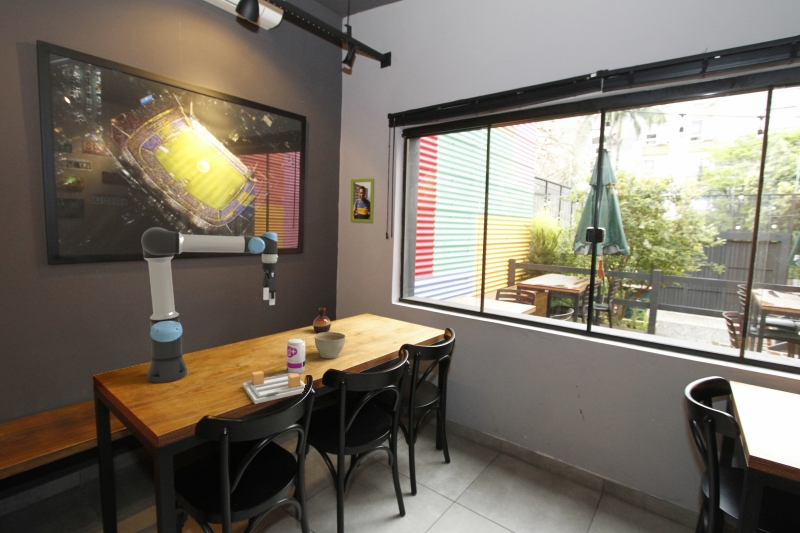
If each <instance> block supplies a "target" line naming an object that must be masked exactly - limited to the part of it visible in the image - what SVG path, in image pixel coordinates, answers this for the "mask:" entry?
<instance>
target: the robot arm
mask: <svg viewBox="0 0 800 533" xmlns="http://www.w3.org/2000/svg"><path fill="white" fill-rule="evenodd" d="M261 233H262V234H261V235H238V236H237V235H236V236H235V235H234V236H232V235H211V234H210V235H206V234H184V233H182V232H180V231H171V230H168V229H166V228H163V227H158V226H155V227H150V228H148V229H146V230H145V231H144V232H143V233H142V236H141V239H140V240H141V246H142V253H143V254H142V255H143V259H144V260H145V261H147V264H148V273H149V282H150V292H151V303H152V312H153V313H152V314H151V315H150V316H149V322H150V333H149V335H150V348H151V349H150V352H151V355H150V356H151V361H150V365H149V367H148V370H147V374H146V380H147V382H150V383H154V384H156V383H157V384H161V383H171V382H175V381H178V380H181V379H183V378H184V377H186V376H187V374H188V367H187V365H186V362H185V359H184V357H183V331H184V330H183V326H182V324H181V322H180V319H181V318H180V313H179V312H177V311H176V308H175V307H176V305H175V296H174V294H175V293H174V285H173V284H174V283H173V274H172V272H173V271H172V262H171V261H172V259H173V258H174V256H175V255H180V254H182V253H183V252H185V253H242V254H243V253H244V254H247V253H249V254H254V255H255V254H256V255H257V254H261V270H263V277H262V278H263V279H262V288H263V290H262V291H263V293H262V294H263V295H262V296H263V297H262V299H263V301H268V303H269V305H268V306H275V305H276V293H277V283H276V273H275V272H274V271H276V270H278V263H277V262H278V258H279V256H278V234H277V233H276V232H268V231H267V232H265V231H264V232H261Z"/></svg>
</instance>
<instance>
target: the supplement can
mask: <svg viewBox="0 0 800 533" xmlns="http://www.w3.org/2000/svg"><path fill="white" fill-rule="evenodd" d="M286 344H287V345H286V347H287V348H286V349H287V350H286V372H287V373H292V374H293V373H294V374H296V373H298V374H299V375H301V374H303V373H304V372H305V371H306V341H305V339H304V338H290V339H289V340H288V341H287V343H286Z"/></svg>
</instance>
